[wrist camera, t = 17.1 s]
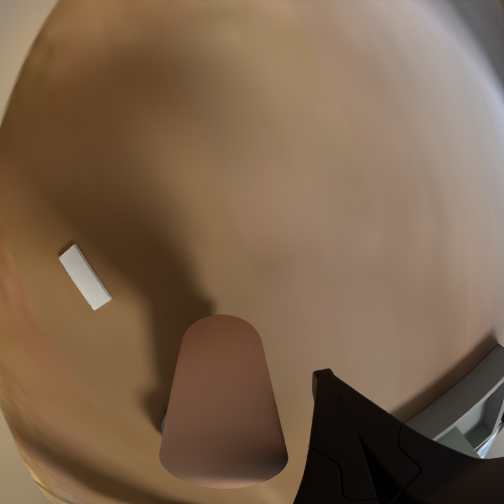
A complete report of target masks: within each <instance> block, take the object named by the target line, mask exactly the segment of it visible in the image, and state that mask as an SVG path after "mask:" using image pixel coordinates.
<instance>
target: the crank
mask: <svg viewBox="0 0 504 504" xmlns="http://www.w3.org/2000/svg"><path fill="white" fill-rule="evenodd" d="M159 457H160V461H161V463H162V465H163V466H164V468H165V469H166V470H167V471H168V472H170V473H171V474H172V475H174V476H176V477H177V478H179V479H181V480H184V481H186V482H189V483H192V484H195V485H199V486H204V487H211V488H240V487H247V486H251V485H255V484H259V483H261V482H264V481H267V480H269V479H271V478H273V477H274V476H276V475H277V474H279V473H280V472H281V471H282V470H283V469H284V467H285V466H286V464H287V462H288V453H287V449H286V445H285V441H284V436H283V432H282V428H281V423H280V419H279V415H278V410H277V406H276V402H275V397H274V393H273V389H272V384H271V380H270V375H269V371H268V366H267V362H266V358H265V353H264V349H263V344H262V340H261V337H260V335H259V333H258V332H257V331H256V329H255V328H254V327H253V326H252V325H250V324H249V323H248V322H246V321H245V320H242V319H240V318H238V317H235V316H230V315H212V316H208V317H204V318H202V319H200V320H198V321H196V322H195V323H193V324H192V325H191V326H190V327H189V328H188V329H187V330H186V332H185V334H184V335H183V338H182V342H181V346H180V351H179V355H178V360H177V365H176V369H175V374H174V379H173V384H172V389H171V394H170V399H169V404H168V409H167V414H166V420H165V425H164V431H163V436H162V442H161V448H160V455H159Z"/></svg>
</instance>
